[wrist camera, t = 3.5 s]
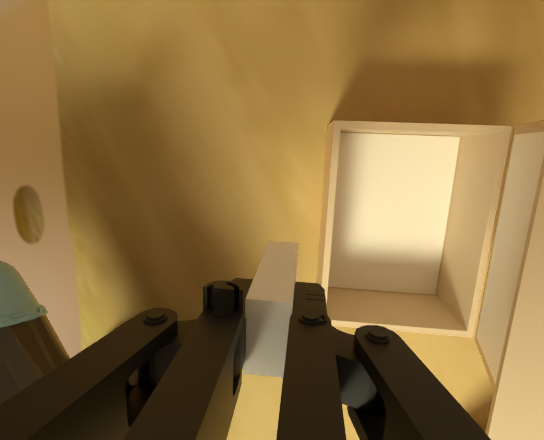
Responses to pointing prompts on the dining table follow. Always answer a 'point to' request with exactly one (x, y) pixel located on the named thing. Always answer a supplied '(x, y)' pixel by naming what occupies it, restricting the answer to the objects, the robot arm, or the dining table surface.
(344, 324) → the box
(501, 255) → the lid
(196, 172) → the dining table surface
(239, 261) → the dining table surface
